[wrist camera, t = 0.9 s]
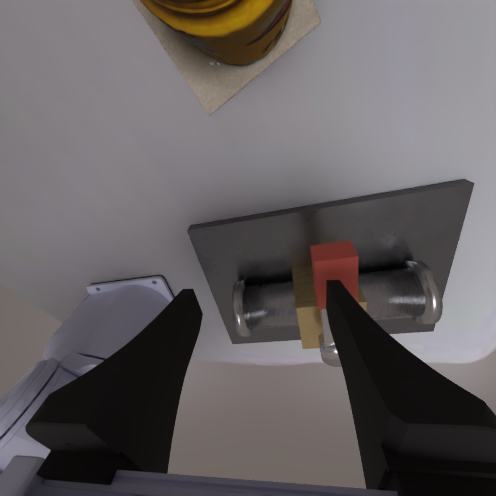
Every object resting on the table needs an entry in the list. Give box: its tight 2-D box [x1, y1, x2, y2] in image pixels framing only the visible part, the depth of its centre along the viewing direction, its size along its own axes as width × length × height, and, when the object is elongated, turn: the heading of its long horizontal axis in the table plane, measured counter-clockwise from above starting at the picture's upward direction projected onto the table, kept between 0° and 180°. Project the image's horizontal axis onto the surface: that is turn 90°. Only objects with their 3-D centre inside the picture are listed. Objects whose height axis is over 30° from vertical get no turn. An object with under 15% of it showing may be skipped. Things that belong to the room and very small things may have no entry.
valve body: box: [187, 179, 474, 349], centre depth 21 cm, size 22×16×7 cm
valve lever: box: [310, 240, 359, 367], centre depth 15 cm, size 10×2×2 cm, turn 12°
